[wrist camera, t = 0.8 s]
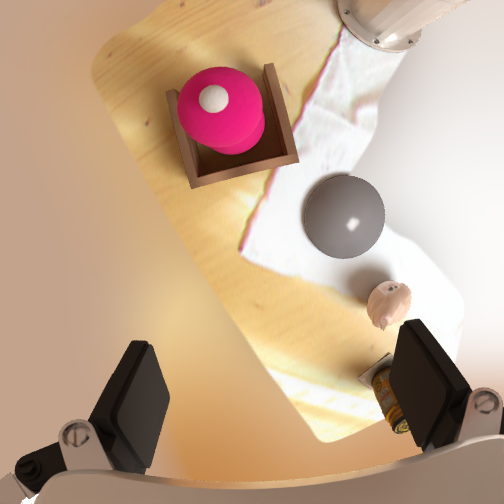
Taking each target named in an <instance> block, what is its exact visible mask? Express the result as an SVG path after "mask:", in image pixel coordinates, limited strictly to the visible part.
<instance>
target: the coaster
mask: <svg viewBox="0 0 504 504" xmlns="http://www.w3.org/2000/svg"><path fill="white" fill-rule="evenodd" d="M384 221H385V209H384V204H383V201H382V199H381V197H380V195H379V193H378V192H377V190H376V189H375V188H374V187H373V186H372V185H371V184H370V183H368V182H367V181H365V180H363V179H361V178H358V177H354V176H337V177H334V178H331V179H329V180H327V181H325V182H324V183H322V184H321V185H320V186H319V187H318V188H317V189H316V190H315V191H314V192H313V194H312V195H311V197H310V199H309V201H308V203H307V206H306V210H305V227H306V230H307V233H308V236H309V238H310V239H311V241H312V243H313V244H314V245H315V246H316V247H317V248H318V249H319V250H320V251H321V252H323V253H324V254H326V255H328V256H331V257H334V258H339V259H348V258H353V257H356V256H359V255H361V254H363V253H364V252H366V251H367V250H369V249H370V248H371V247H372V246H373V245H374V244H375V243H376V241H377V240H378V238H379V236H380V235H381V232H382V230H383V226H384Z"/></svg>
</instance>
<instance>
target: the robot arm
mask: <svg viewBox="0 0 504 504" xmlns="http://www.w3.org/2000/svg"><path fill="white" fill-rule="evenodd" d="M468 1H470V0H338V3H337V6H338V11H339V14H340V16H341V19H342V21H343V22H344V24H345V25H346V27H347V28H348V29H349V30H350V31H351V32H352V34H354V35H355V36H356V37H357V38H358V39H359V40H361V41H362V42H364V43H365V44H367V45H369V46H371V47H373V48H375V49H378V50H381V51H384V52H390V53H399V52H403V51H406V50H408V49H410V48H412V47H413V46H415V45H416V43H417V42H418V41H419V38H420V36H421V31H422V28H423V27H424V26H426V25H428V24H429V23H431V22H433V21H434V20H436V19H438V18H439V17H441V16H443V15H445V14H446V13H448V12H450V11H452V10H454V9H455V8H457V7H459V6H461V5H463V4H464V3H466V2H468ZM374 42H375V43H376V44H375V43H374ZM389 384H390V387H391V389H392V391H393V393H394V395H395V397H396V400H397V402H398V404H399V406H400V408H401V411H402V413H403V415H404V417H405V420H406V422H407V424H408V427H409V429H410V431H411V434H412V436H413V438H414V441H415V443H416V445H417V446H418V447H421V448H422V451H423V453H422V454H419V455H416V456H412V457H409V458H405V459H402V460H398V461H395V462H391V463H387V464H383V465H379V466H375V467H370V468H366V469H361V470H356V471H351V472H345V473H339V474H333V475H327V476H320V477H312V478H304V479H293V480H282V481H263V482H214V481H213V482H212V481H196V480H183V479H173V478H163V477H156V476H148V475H145V471H146V468H150V466H151V463H152V460H153V456H154V453H155V449H156V446H157V442H158V439H159V435H160V432H161V428H162V425H163V421H164V418H165V415H166V411H167V408H168V404H169V401H170V395H169V391H168V389H167V386H166V383H165V380H164V378H163V375H162V372H161V369H160V367H159V363H158V360H157V357H156V354H155V352H154V348H153V346H152V345H151V344H148V342H147V341H137V340H134V341H131V343H130V344H129V346H128V348H127V350H126V351H125V353H124V355H123V357H122V359H121V361H120V363H119V364H118V366H117V368H116V370H115V371H114V373H113V374H112V376H111V377H110V379H109V381H108V383H107V385H106V387H105V388H104V390H103V392H102V394H101V396H100V398H99V400H98V402H97V404H96V406H95V408H94V409H93V411H92V413H91V415H90V418H89V419H88V421H86V420H81V419H77V420H72V421H70V422H68V423H66V424H65V425H64V426H63V427H62V428H61V430H60V432H59V435H58V439H59V441H58V442H57V443H54V444H51V445H49V446H47V447H44V448H42V449H39V450H37V451H34V452H32V453H30V454H27V455H25V456H23V457H21V458H20V459H19V460H18V461H17V463H16V465H15V474H11V473H9V474H7V475H6V476H5V477H3V478H2V479H1V480H0V504H504V407H503V401H502V398H501V396H500V395H499V394H498V393H497V392H496V391H494V390H493V389H490V388H478V389H476V390H474V391H472V389H471V388H470V386H469V384H468V383H467V381H466V380H465V378H464V377H463V376H462V374H461V373H460V371H459V370H458V368H457V367H456V366H455V364H454V363H453V362H452V360H451V359H450V357H449V356H448V355H447V353H446V352H445V351H444V349H443V348H442V347H441V345H440V344H439V343H438V342H437V340H436V339H435V338H434V336H433V335H432V334H431V332H430V331H429V330H428V329H427V327H426V326H425V325H424V324H423V322H422V321H421V320H420V319H413V320H407V321H405V322H404V324H403V325H401V326H400V329H399V334H398V339H397V344H396V348H395V353H394V357H393V361H392V365H391V369H390V373H389ZM135 473H137V474H135ZM141 474H143V475H141Z"/></svg>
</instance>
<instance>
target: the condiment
mask: <svg viewBox="0 0 504 504" xmlns="http://www.w3.org/2000/svg"><path fill="white" fill-rule="evenodd" d="M392 361H393V356H392V355H391V354H389V355H387V356H386V357H384V358H383V359H382V360H380V361H379V362H378V363H376V364H375V365H374V366H373V367H371V368H370V369H369V370H367V371H366V372H365V373H363V374H362V375H361V376H360V377H358V378H357V379H358V380H360V381H361V382H362V383H363V384H365V385H366V386H367V387H368V388H370V389H371V390H372V391H373V392H374V393H375V396H376V398H377V400H378V402H379V405H380V407H381V409H382V413H383V414H384V417H385V419H386V421H387V422H388V423H390V426H391V427H392V430H393V431H394V432H395V433H397V434H403V433H406V432H409V431H410V429H409V427H408V424H407V422H406V420H405V417H404V415H403V413H402V411H401V408H400V406H399V404H398V402H397V400H396V397H395V395H394V393H393V391H392V389H391V387H390V384H389V373H390V369H391V365H392Z"/></svg>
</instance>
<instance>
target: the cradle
mask: <svg viewBox="0 0 504 504" xmlns="http://www.w3.org/2000/svg"><path fill="white" fill-rule="evenodd" d="M263 79H264V82H265V86H266V89H267V93H268V97H269V100H270V104H271V108H272V111H273V115H274V119H275V123H276V127H277V131H278V135H279V138H280V142H281V147H282V151H283V155H280V156H276V157H271V158H267V159H263V160H258V161H254V162H250V163H246V164H242V165H238V166H234V167H230V168H227V169H223V170H219V171H215V172H212V173H208V174H204V171H203V167H202V163H201V160H200V156H199V152H198V148H197V145H196V141H195V140H194V139H192V138H191V137H190V136H189V135H188V134H187V133H186V132H185V131H184V129H183V127H182V125H181V124H180V121H179V118H178V114H177V104H178V98H179V95H180V93H179V92H178V91H176V90H175V89H172V90H169V91H166V96H167V100H168V104H169V108H170V112H171V116H172V120H173V124H174V128H175V132H176V136H177V139H178V143H179V147H180V151H181V154H182V158H183V162H184V165H185V169H186V173H187V176H188V180H189V183H190V187H191V189H194V188H197V187H201V186H204V185H208V184H212V183H215V182H219V181H223V180H227V179H230V178H234V177H238V176H242V175H246V174H250V173H254V172H259V171H263V170H267V169H271V168H276V167H280V166H284V165H289V164H294V163H298V162H299V158H298V154H297V150H296V146H295V142H294V138H293V134H292V130H291V126H290V122H289V118H288V114H287V110H286V107H285V103H284V99H283V95H282V92H281V88H280V85H279V81H278V78H277V74H276V71H275V67H274V64H273V63H270V64H265V65H264V69H263Z"/></svg>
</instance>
